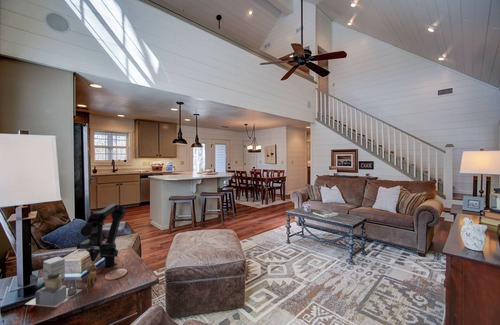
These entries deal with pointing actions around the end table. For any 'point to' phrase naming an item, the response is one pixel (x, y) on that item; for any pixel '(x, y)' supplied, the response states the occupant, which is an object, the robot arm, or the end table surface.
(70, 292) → the potentiometer
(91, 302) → the end table surface
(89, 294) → the end table surface
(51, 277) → the knob
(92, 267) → the lion figurine
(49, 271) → the supplement box
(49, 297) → the mount
